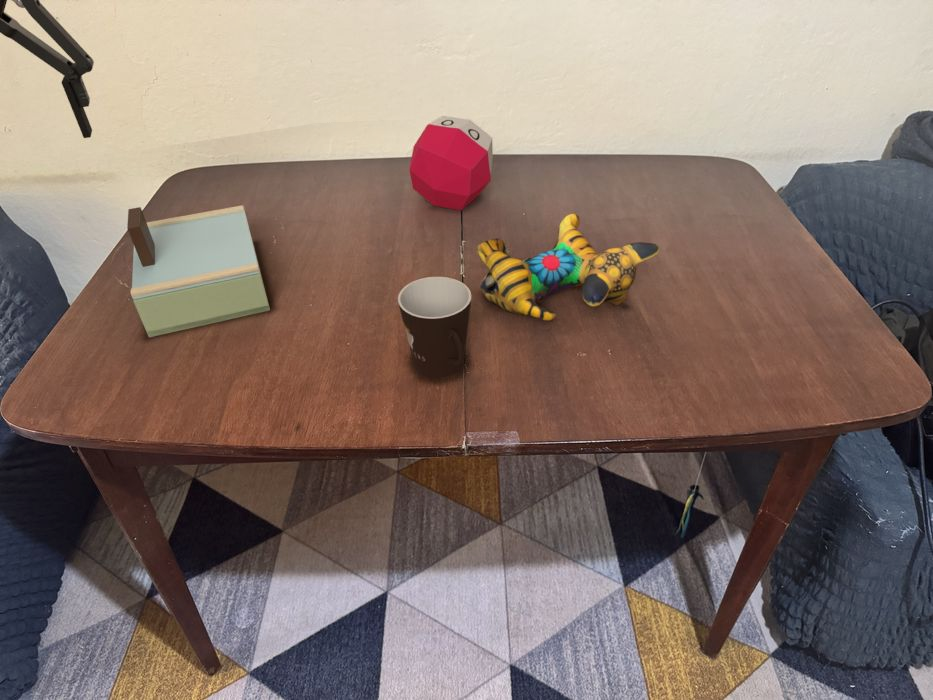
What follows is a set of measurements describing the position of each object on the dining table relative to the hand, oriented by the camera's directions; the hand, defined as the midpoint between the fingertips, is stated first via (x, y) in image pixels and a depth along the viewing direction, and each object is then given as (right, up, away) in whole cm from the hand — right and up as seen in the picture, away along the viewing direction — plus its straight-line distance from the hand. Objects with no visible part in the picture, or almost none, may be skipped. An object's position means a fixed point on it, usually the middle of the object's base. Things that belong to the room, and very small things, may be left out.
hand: (26, 142), depth 77 cm
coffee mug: (+49, -28, +3) cm, 57 cm away
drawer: (+14, -11, +15) cm, 23 cm away
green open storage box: (+14, -15, +19) cm, 28 cm away
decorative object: (+51, +2, +40) cm, 64 cm away
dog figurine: (+66, -18, +14) cm, 70 cm away
